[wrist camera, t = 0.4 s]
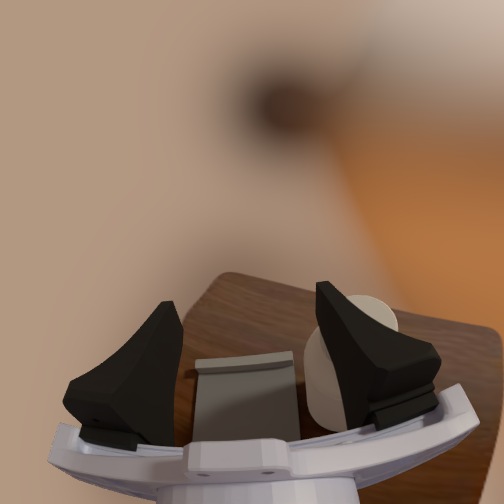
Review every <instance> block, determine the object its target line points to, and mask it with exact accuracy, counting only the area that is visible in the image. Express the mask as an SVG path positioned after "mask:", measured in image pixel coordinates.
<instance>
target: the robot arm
mask: <svg viewBox="0 0 504 504" xmlns="http://www.w3.org/2000/svg"><path fill="white" fill-rule="evenodd" d="M316 317H317V321H318V325H319V329H320V332H321V335H322V337H323V340H324V343H325V345H326V348H327V350H328V353H329V355H330V358H331V361H332V363H333V366H334V369H335V372H336V377H337V381H338V385H339V389H340V394H341V398H342V403H343V408H344V413H345V419H346V425H347V431H344V432H340V433H336V434H331V435H327V436H322V437H317V438H311V439H306V440H300V441H293V442H287V443H286V442H285V441H283V440H279V439H274V438H269V439H251V440H236V441H201V442H191V443H189V444H187V445H185V446H184V447H183V448H182V447H175V444H174V420H173V417H174V391H175V382H176V377H177V372H178V367H179V362H180V357H181V352H182V346H183V330H184V329H183V327H182V324H181V322H180V319H179V316H178V314H177V311H176V309H175V306H174V303H173V301H164V302H161V303H160V304H159V305H158V307H157V308H156V309H155V310H154V312H153V313H152V314H151V315H150V317H149V318H148V319H147V320H146V321H145V322H144V324H143V325H142V326H141V327H140V329H138V331H137V332H136V333H135V334H134V335H133V336H132V337H131V338H130V339H129V340H128V341H127V342H126V343H125V344H124V345H123V346H122V347H121V348H120V349H119V350H118V351H117V352H115V353H114V354H113V355H112V356H110V357H109V358H108V359H107V360H105V361H104V362H103V363H101V364H100V365H99V366H97V367H95V368H94V369H92V370H91V371H89V372H87V373H85V374H84V375H82V376H80V377H78V378H76V379H74V380H72V381H70V383H69V386H68V389H67V391H66V393H65V396H64V398H63V404H64V406H65V408H66V409H67V410H68V412H69V413H71V414H72V415H73V416H74V417H75V418H76V419H77V420H78V421H79V422H80V423H81V424H82V427H81V429H79V428H77V427H75V426H72V425H68V424H64V423H59V425H58V428H57V431H56V434H55V437H54V440H53V443H52V447H51V450H50V453H49V457H48V462H49V463H50V464H52V465H54V466H55V467H57V468H58V469H60V470H62V471H63V472H65V473H67V474H68V475H70V476H72V477H74V478H75V479H78V480H80V481H83V482H86V483H89V484H92V485H95V486H99V487H102V488H106V489H108V490H112V491H116V492H119V493H122V494H126V495H130V496H134V497H139V498H143V499H147V500H152V501H157V502H156V504H360V502H359V497H358V493H357V489H361V488H364V487H367V486H369V485H372V484H375V483H378V482H380V481H383V480H386V479H388V478H391V477H393V476H395V475H398V474H400V473H402V472H405V471H407V470H409V469H411V468H413V467H416V466H418V465H420V464H422V463H424V462H426V461H428V460H430V459H432V458H434V457H436V456H438V455H440V454H442V453H444V452H445V451H447V450H449V449H451V448H453V447H455V446H456V445H457V444H458V443H460V442H461V441H462V440H463V439H464V438H465V437H466V436H467V435H469V434H470V433H471V432H472V431H473V430H474V429H475V428H476V427H477V426H478V425H479V424H480V421H479V419H478V417H477V415H476V413H475V411H474V409H473V407H472V405H471V403H470V402H469V400H468V398H467V396H466V394H465V392H464V390H463V389H462V387H461V385H460V384H456V385H454V386H452V387H450V388H447V389H445V390H443V391H441V392H440V393H438V394H437V395H436V396H435V394H434V392H433V390H434V389H435V386H434V384H433V382H432V381H433V379H434V378H435V376H436V374H437V372H438V371H439V368H440V366H441V358H440V356H439V355H438V353H437V351H436V350H435V348H434V347H433V345H432V344H431V343H428V342H425V341H421V340H418V339H415V338H412V337H409V336H407V335H404V334H402V333H399V332H397V331H395V330H393V329H391V328H389V327H387V326H385V325H383V324H381V323H380V322H378V321H376V320H375V319H373V318H372V317H370V316H369V315H367V314H366V313H364V312H363V311H362V310H360V309H359V308H358V307H357V306H355V305H354V304H353V303H352V302H351V301H350V300H348V299H347V298H346V297H345V296H344V295H343V294H342V293H341V292H339V291H338V290H337V289H336V288H335V287H334V286H333V285H332V284H331V283H330V282H329V281H323V282H317V283H316Z"/></svg>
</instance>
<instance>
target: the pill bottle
mask: <svg viewBox="0 0 504 504" xmlns="http://www.w3.org/2000/svg"><path fill="white" fill-rule="evenodd" d="M346 298H347V299H348V300H350V301H351V302H352V303H353V304H354V305H355V306H357V307H358V308H359V309H360V310H362V311H363V312H364V313H366V314H367V315H369V316H370V317H372V318H373V319H375V320H376V321H378V322H380V323H381V324H383V325H385V326H387V327H389V328H391V329H393V330H395V331H397V332H398V324H397V321H396V320H397V319H396V317H395V315H394V313H393V312H392V310H391V309H390V308H389V307H388V306H387V305H386V304H385V303H384V302H382V301H380V300H378V299H376V298H374V297H370V296H364V295H355V296H348V297H346ZM304 370H305V382H306V394H307V405H308V409H309V412H310V414H311V416H312V417H313V419H314V420H315V421H316V422H317V423H318V424H319V425H320V426H322V427H324V428H326V429H328V430H331V431H336V432H344V431H347V425H346V419H345V413H344V408H343V403H342V398H341V394H340V389H339V385H338V381H337V377H336V372H335V369H334V366H333V363H332V361H331V358H330V355H329V353H328V350H327V348H326V345H325V343H324V340H323V337H322V335H321V332H320V329H319V326H318V327H317V328H316V329H315V330H314V332H313V333H312V335H311V336H310V338H309V340H308V342H307V344H306V347H305V352H304Z"/></svg>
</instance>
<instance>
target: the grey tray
mask: <svg viewBox="0 0 504 504" xmlns="http://www.w3.org/2000/svg"><path fill="white" fill-rule="evenodd" d="M195 369H196V370H197V371H198V373H199V377H198V387H197V396H196V406H195V417H194V428H193V440H192V442H201V441H236V440H251V439H269V438H274V439H279V440H283V441H285V442H286V443H287V442H293V441H300V440H301V438H300V425H299V414H298V402H297V392H296V381H295V371H294V362H293V355H292V351H287V352H279V353H271V354H262V355H253V356H242V357H230V358H217V359H199V360H196V363H195Z"/></svg>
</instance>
